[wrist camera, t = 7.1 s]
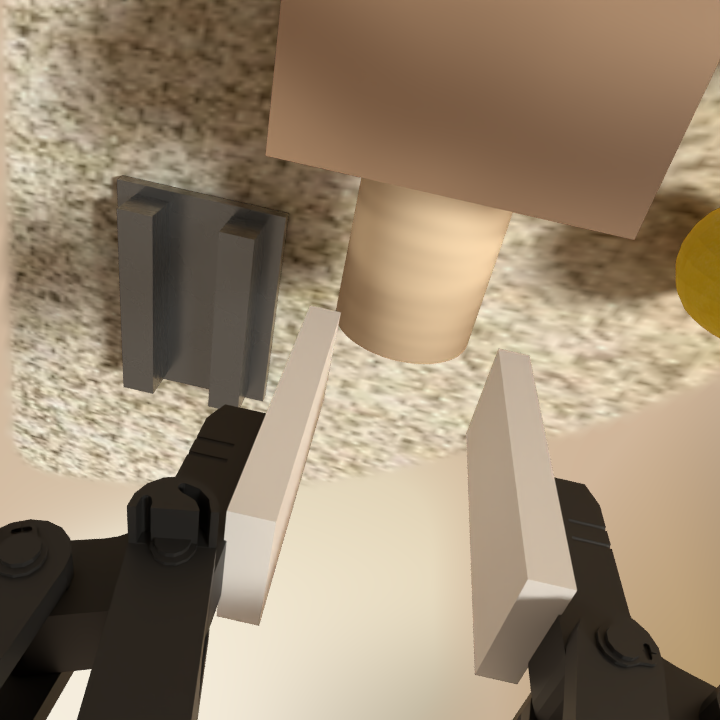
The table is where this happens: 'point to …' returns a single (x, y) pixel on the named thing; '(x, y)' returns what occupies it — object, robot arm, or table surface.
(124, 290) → the cradle
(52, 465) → the table surface
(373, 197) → the axle
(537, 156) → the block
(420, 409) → the table surface
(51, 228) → the table surface
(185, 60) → the table surface
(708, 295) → the fruit
